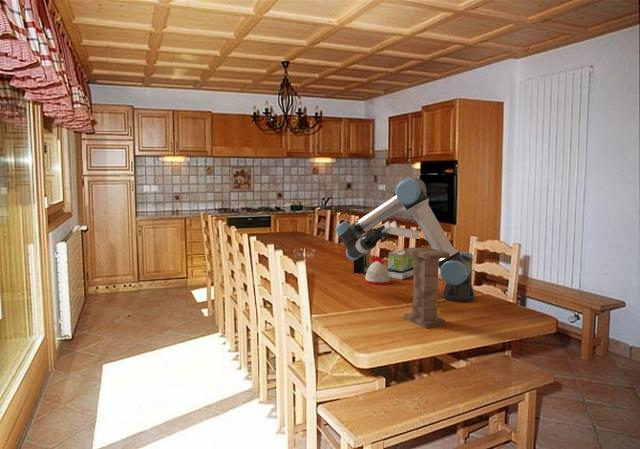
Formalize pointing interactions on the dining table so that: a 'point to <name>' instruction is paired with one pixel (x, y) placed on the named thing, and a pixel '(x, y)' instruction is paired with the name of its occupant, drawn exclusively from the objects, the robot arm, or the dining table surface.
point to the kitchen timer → (377, 272)
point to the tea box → (400, 264)
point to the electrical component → (361, 263)
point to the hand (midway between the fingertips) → (392, 223)
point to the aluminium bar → (402, 232)
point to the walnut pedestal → (425, 286)
